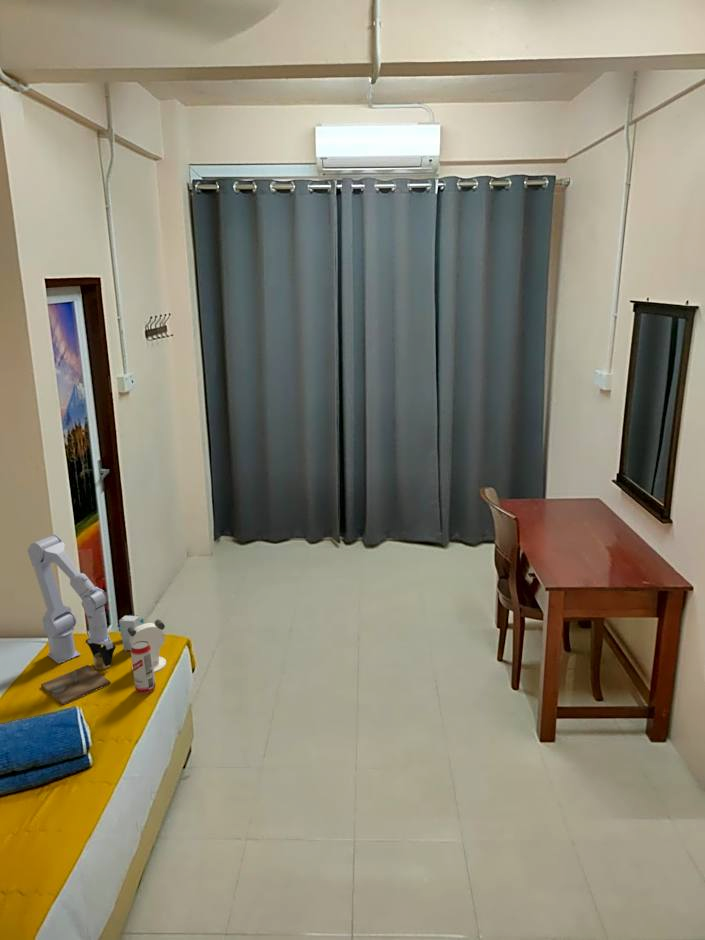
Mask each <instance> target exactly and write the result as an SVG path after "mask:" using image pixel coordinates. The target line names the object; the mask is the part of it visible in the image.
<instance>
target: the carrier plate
mask: <svg viewBox="0 0 705 940" xmlns="http://www.w3.org/2000/svg"><path fill="white" fill-rule="evenodd" d="M109 684H110V685H111V681H110V679H108V678H107V677H105V676H104V675H103V674H102V673H100V672H98V671H97V669H96V670H95V668H94V667H92V666H90V665H89V664H86V665H84V666H82V667H80V668H76V669H74V670H72V671H69V672H67V673H65V674H63V675H60V676H57V677H55V678H52V679H50V680H48V681H45V682H43V683H40V686H41V687H43V689H44V691H45V692H47V691H48V692H49V693H50V694H51V695H50V694H49V693H48V692H47V693H48V694H49V695H50V696H51V697H53V698H54V697H55V698H56V699H57V700H58V701H59V702H58V701H57V700H56V699H55V698H54V699H55V700H56V701H57V702H58V703H60V704H61V705H62V706H64V705H66V704H68V702H69V703H70V701H71V702H73V701H75V700H74V699H76V698H78V699H80V698H82V697H84V696H83V695H85V696H86V694H87V693H89V694H91V693H93V692H92V691H94V690H96V689H98V690H100V689H102V688H101V687H103V688H105V687H107V686H110V685H109ZM106 685H107V686H106ZM104 686H105V687H104ZM99 688H100V689H99ZM96 691H97V690H96ZM90 692H91V693H90ZM94 692H95V691H94ZM87 695H88V694H87ZM81 696H82V697H81ZM79 697H80V698H79ZM72 700H73V701H72ZM76 700H77V699H76ZM65 703H66V704H65ZM63 704H64V705H63Z"/></svg>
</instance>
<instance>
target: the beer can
mask: <svg viewBox="0 0 705 940" xmlns="http://www.w3.org/2000/svg"><path fill="white" fill-rule="evenodd" d="M130 655H131V656H130V657H131V664H132V666H133V670H132V672H133V673H132V674H133V680H134V681H133V682H134V688H135V691H136V693H138V694H141V695H142V694H143V695H145V694H150V693H152V692H153V691H154V690H155V688H156V678H155V677H156V676H155V672H154V668H153V659H152V651H151V647H150V645H149V643H148V642H147V641H138V642H136V643H134V644H133V645H132V649H131V651H130ZM132 666H131V667H132Z"/></svg>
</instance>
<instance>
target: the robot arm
mask: <svg viewBox="0 0 705 940" xmlns="http://www.w3.org/2000/svg"><path fill="white" fill-rule="evenodd" d="M65 550H66V545H65V543H64V542H63V540H62V538H61V537H60V536H59V535H57V534H51V535H50V536H48V537H45V538H42V539H40V540H38V541H34V542H32V543H30V545H29V546H28V548H27V553H28V557H29V560H30V562H31V564H32V566H33V569H34V573H35V575H36V579H37V582H38V585H39V588H40V592H41V594H42V598H43V600H44V604H45V607H46V612H45V613H44V614H43V616H42V623H43V632H44V633H45V635H46V636H47V642H48V648H49V653H47V656H48V657H49V658H50V659H52V660H53V661H54V662H55V663H57V664H62V663H64V662H66V660H67V661H69V660H72V659H74V658H77V657H79V656H81V653H80V652H78V651H77V650H76V645H75V641H74V634H73V631H74V630H75V628H74V627H75V626H76V625H77V617H76V615H75V614H74V613H73V611H72V609H71V607H70V606H67V605H64V602H63V600H62V597H61V593H60V589H59V587H58V583H57V581H56V577H55V574H54V572H53V571H54V570H53V569H52V565H51V563H54V564H55V565H56V566H57V567H58V568H59V569H60V570H61V571H62V572H63V574H65V575H66V576H67V577H68V578H69V586H71V587H72V589H73V590H74V591H75V593H76V594H77V596H78V597H79V598H80V599H81V602H80V603H81V606H82V609H83V610H84V612H85V615H86V617H87V622H88V630H87V631H86V632H87V634H86V635H87V637H88V638H87V639H85V644H87V646H88V647H89V649H90V651H91V654H92V656H93V657H94V656H95V654H97V653H99V652H100V654H101V656H102V659H103V662H104V665H105V666H108V665H111V666H112V664H113V662H112V661H113V656H114V652H115V650H116V647H117V646H116V644H115V643H113V641H111V637H110V635H109V632H108V624H107V622H108V621H107V617H106V616H107V615H106V611H105V609H106V608H105V604H107V602H108V596H107V594H106V592H105V590H103V589H102V588H99V587H98V586H95V585H94V583H93V582H92V581H91V580H90V578H89V577H88V576H87V575H86V574H85V573H83V572H79V570H78V568H77V567H76V566H75V565H74V563H73V561H72V559H71V558H70V556H69V555H68V554H67V552H66V551H65ZM76 656H77V657H76ZM71 658H72V659H71ZM61 662H62V663H61ZM111 663H112V664H111Z"/></svg>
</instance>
